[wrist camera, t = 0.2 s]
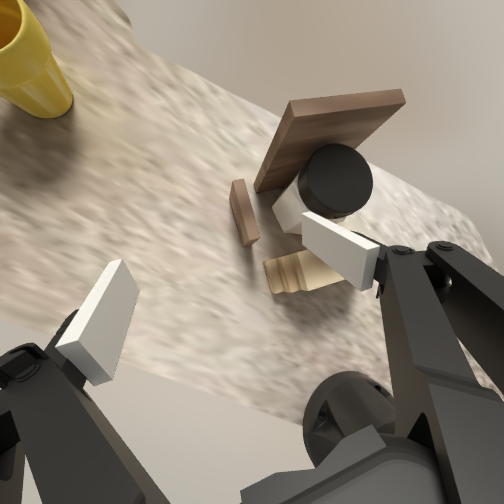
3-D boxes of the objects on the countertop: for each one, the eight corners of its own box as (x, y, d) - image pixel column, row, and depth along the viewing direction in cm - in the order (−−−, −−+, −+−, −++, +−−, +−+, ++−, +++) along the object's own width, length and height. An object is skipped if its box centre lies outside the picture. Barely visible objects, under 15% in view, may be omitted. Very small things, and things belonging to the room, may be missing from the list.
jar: (303, 247, 33) (351, 231, 21) (263, 217, 32) (290, 185, 21) (329, 205, 35) (387, 170, 23) (291, 176, 34) (331, 125, 22)
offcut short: (360, 270, 30) (374, 269, 27) (300, 289, 28) (308, 291, 25) (351, 237, 30) (363, 234, 28) (289, 254, 28) (297, 252, 25)
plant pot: (-8, 122, 27) (-129, 39, 17) (11, 56, 28) (-91, -55, 19) (79, 139, 29) (12, 71, 19) (93, 75, 30) (37, -17, 21)
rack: (334, 223, 35) (432, 180, 19) (242, 246, 31) (271, 218, 16) (318, 171, 35) (401, 88, 20) (226, 189, 32) (238, 105, 16)
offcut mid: (358, 267, 32) (369, 266, 30) (284, 291, 30) (291, 292, 27) (348, 238, 33) (359, 234, 30) (275, 259, 30) (280, 257, 28)
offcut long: (355, 264, 35) (365, 263, 33) (271, 292, 32) (275, 293, 29) (346, 237, 36) (356, 234, 33) (262, 262, 32) (265, 261, 30)
